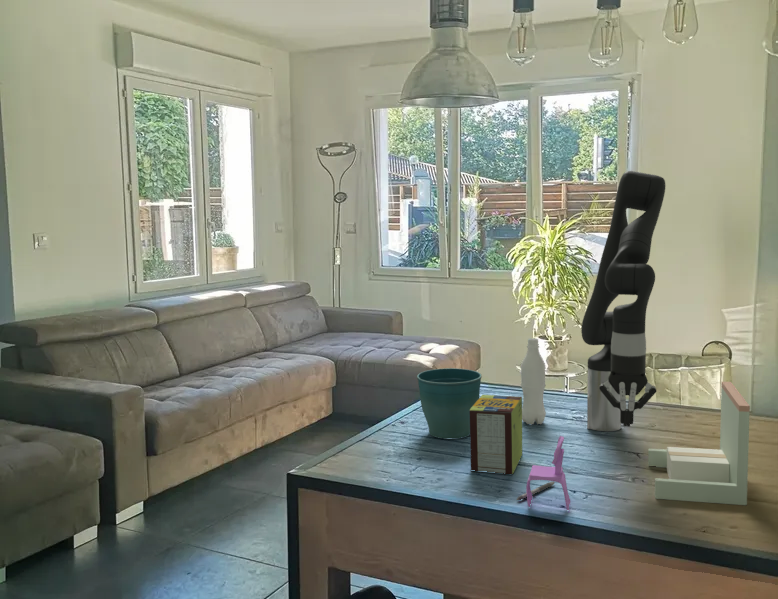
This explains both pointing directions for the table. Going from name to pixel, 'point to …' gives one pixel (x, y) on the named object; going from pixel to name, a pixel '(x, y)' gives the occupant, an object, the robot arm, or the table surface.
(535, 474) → the toy chair
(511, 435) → the protein box
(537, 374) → the water bottle
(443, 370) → the flower pot
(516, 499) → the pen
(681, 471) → the carton
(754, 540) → the table surface
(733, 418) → the display stand
